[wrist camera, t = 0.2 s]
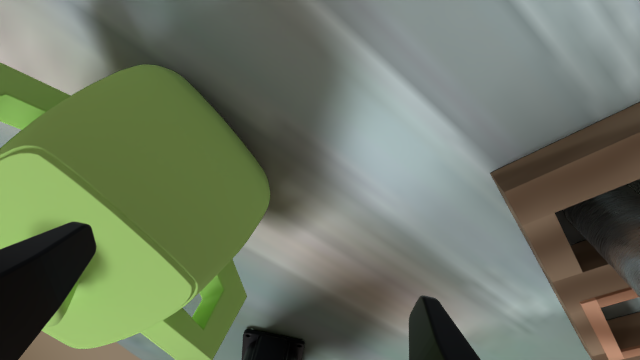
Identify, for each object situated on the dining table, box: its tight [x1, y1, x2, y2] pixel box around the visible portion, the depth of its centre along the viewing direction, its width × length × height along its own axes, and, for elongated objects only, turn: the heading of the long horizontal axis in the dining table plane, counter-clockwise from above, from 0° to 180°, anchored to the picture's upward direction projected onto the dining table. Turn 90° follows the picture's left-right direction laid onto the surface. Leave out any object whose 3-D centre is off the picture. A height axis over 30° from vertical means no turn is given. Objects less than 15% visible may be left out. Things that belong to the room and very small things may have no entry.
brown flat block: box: [490, 102, 640, 360], centre depth 23 cm, size 22×10×3 cm, turn 36°
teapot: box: [0, 63, 270, 360], centre depth 20 cm, size 18×20×13 cm
